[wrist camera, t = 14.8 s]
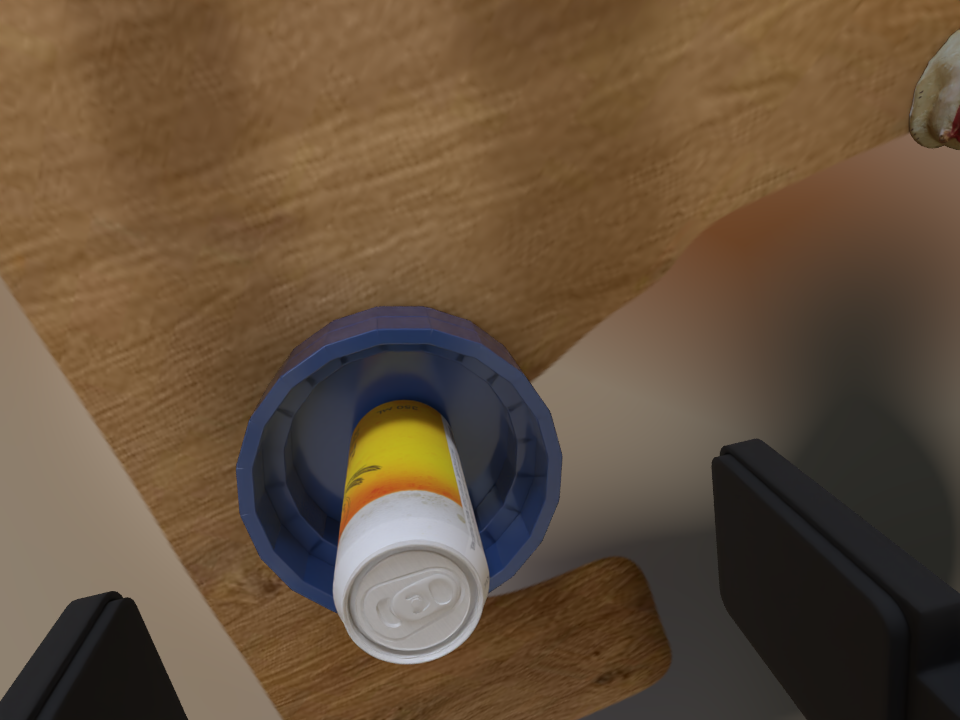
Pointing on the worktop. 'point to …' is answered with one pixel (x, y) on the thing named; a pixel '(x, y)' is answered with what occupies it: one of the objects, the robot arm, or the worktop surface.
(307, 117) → the worktop surface
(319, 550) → the bowl
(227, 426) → the worktop surface
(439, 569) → the beer can
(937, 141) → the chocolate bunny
